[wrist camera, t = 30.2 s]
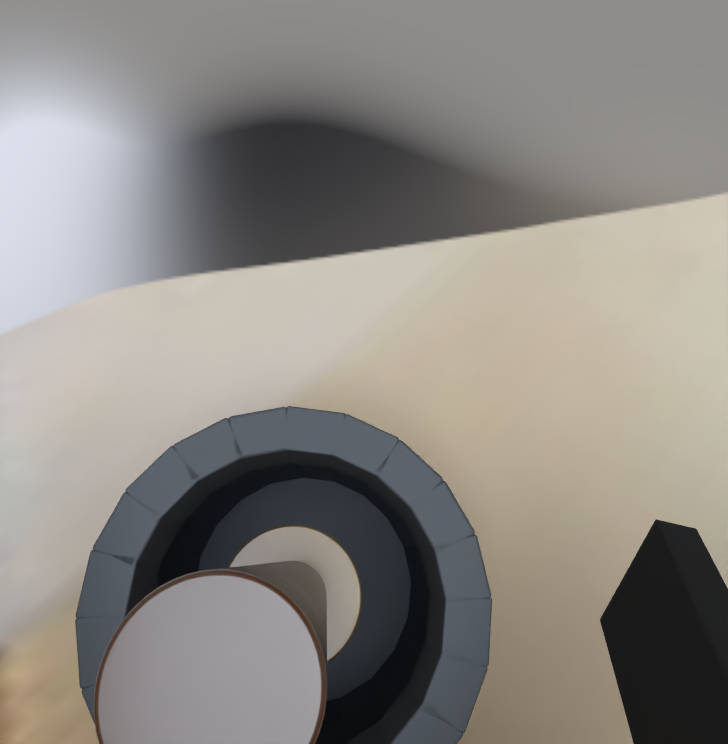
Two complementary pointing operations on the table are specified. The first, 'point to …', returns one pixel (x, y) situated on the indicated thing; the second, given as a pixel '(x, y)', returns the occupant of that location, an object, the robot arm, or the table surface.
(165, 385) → the table surface
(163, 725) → the brush
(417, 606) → the grey cylindrical holder
